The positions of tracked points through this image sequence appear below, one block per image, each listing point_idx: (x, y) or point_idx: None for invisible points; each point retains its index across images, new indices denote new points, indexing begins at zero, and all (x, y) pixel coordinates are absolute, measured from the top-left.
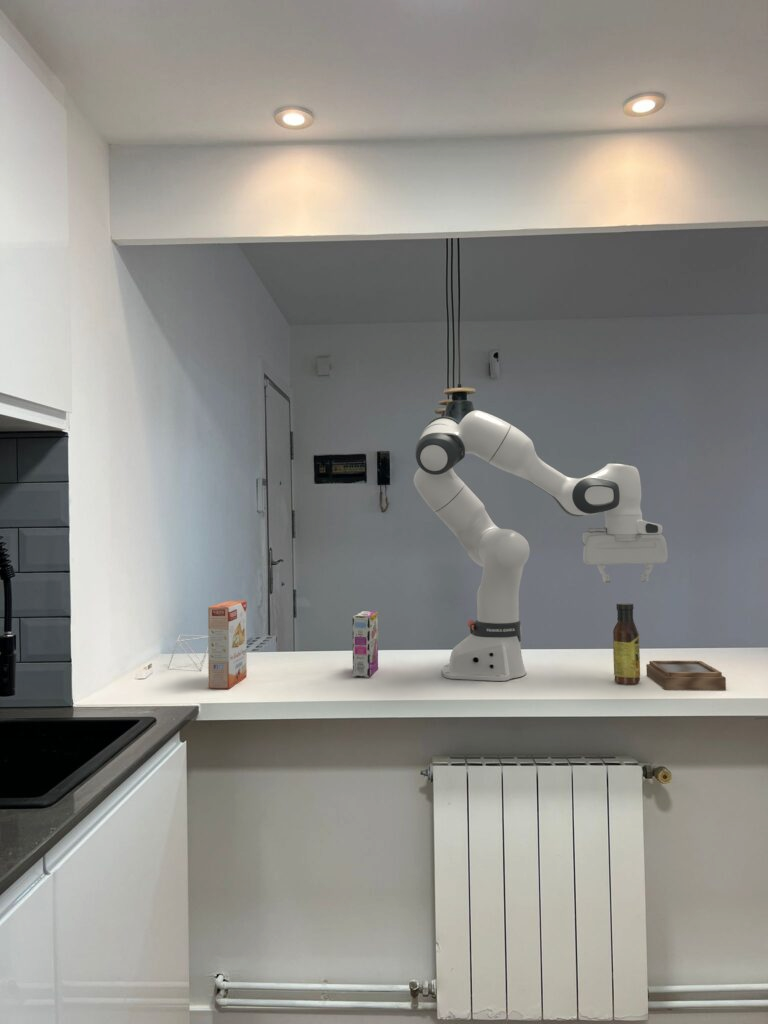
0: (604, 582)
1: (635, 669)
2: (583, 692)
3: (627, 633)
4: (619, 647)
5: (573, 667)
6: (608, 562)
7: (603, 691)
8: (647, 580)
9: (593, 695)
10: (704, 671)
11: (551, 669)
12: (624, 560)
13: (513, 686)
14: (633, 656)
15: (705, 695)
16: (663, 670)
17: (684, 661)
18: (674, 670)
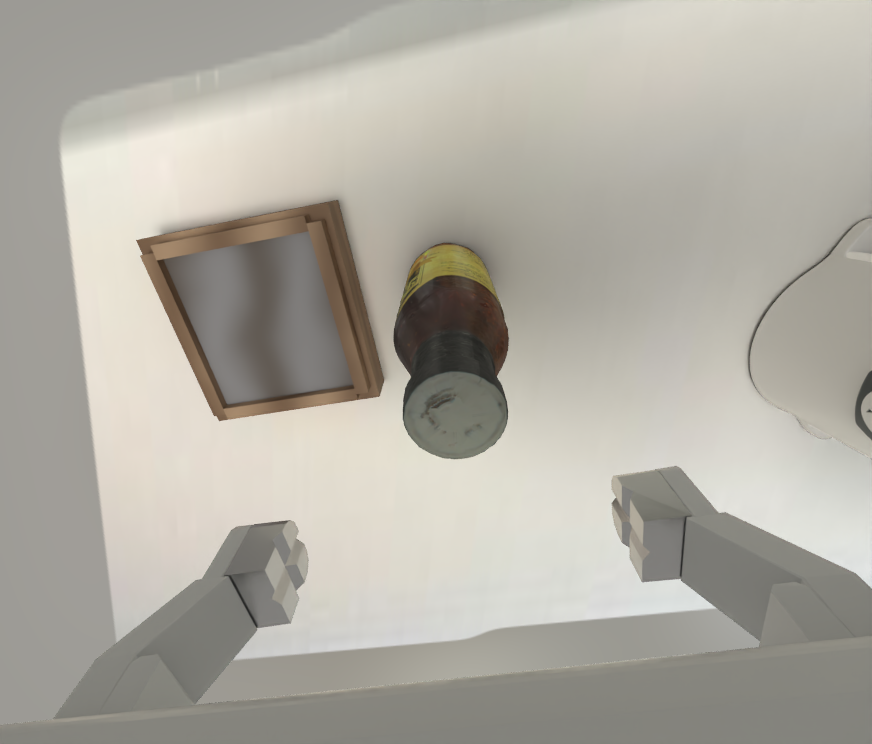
0: (669, 468)
1: (422, 258)
2: (611, 109)
3: (448, 288)
4: (481, 279)
5: (582, 445)
6: (812, 669)
7: (539, 140)
8: (242, 528)
9: (583, 66)
10: (202, 305)
11: (653, 413)
12: (486, 739)
13: (846, 154)
14: (426, 265)
15: (217, 150)
16: (328, 253)
17: (262, 402)
18: (295, 303)
